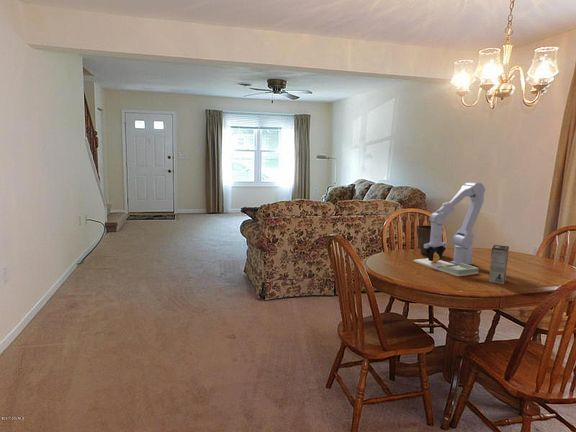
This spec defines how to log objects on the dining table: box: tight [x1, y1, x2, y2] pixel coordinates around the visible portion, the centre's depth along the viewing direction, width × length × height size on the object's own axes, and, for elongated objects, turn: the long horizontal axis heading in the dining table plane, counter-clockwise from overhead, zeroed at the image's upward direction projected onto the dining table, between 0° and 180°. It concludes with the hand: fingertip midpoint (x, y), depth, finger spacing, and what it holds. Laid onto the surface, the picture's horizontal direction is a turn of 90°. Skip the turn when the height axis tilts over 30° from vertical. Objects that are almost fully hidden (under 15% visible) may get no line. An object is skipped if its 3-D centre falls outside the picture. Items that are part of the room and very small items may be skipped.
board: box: [413, 257, 480, 277], centre depth 206 cm, size 14×30×3 cm, turn 25°
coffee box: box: [488, 244, 510, 285], centre depth 183 cm, size 9×6×16 cm
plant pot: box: [416, 224, 444, 256], centre depth 235 cm, size 15×15×16 cm
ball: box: [432, 252, 441, 262], centre depth 212 cm, size 5×5×5 cm
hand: (434, 260), depth 212 cm, fingers closed on ball, 5 cm apart
